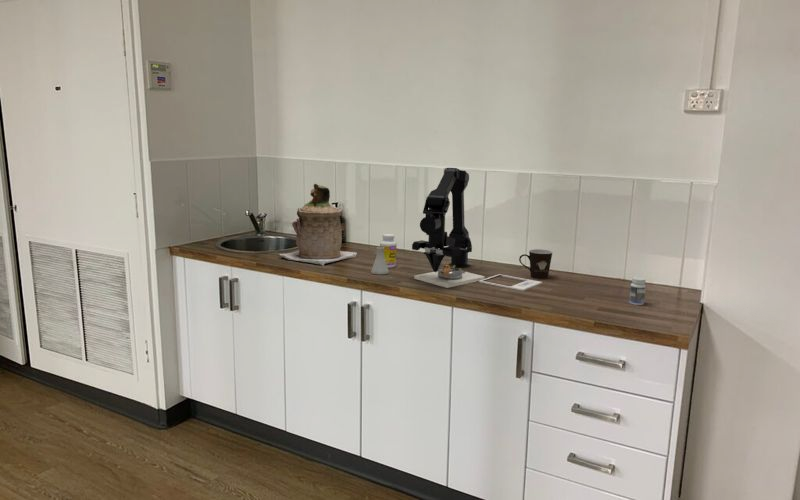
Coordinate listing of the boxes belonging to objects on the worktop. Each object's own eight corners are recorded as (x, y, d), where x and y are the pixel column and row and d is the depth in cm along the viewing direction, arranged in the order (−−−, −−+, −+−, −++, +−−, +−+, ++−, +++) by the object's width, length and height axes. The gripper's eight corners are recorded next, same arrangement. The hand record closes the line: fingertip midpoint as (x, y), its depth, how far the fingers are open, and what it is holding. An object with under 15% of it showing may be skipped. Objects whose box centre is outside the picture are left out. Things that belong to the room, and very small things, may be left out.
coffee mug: (552, 276, 237) (554, 250, 235) (548, 280, 230) (550, 254, 228) (522, 272, 242) (524, 247, 240) (517, 277, 234) (518, 251, 232)
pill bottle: (626, 301, 204) (628, 276, 202) (640, 301, 204) (642, 276, 203) (632, 305, 199) (635, 280, 198) (646, 305, 200) (649, 280, 198)
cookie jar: (359, 256, 267) (359, 182, 261) (323, 266, 246) (322, 186, 240) (315, 250, 280) (314, 179, 274) (277, 259, 259) (275, 182, 253)
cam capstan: (442, 270, 236) (442, 256, 235) (465, 272, 234) (466, 258, 233) (433, 280, 221) (433, 265, 220) (458, 282, 219) (458, 267, 218)
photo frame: (523, 288, 215) (479, 280, 226) (522, 292, 215) (478, 283, 226) (542, 281, 226) (499, 273, 237) (542, 284, 226) (499, 276, 237)
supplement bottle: (389, 268, 245) (389, 236, 242) (376, 266, 249) (376, 234, 246) (399, 266, 250) (400, 234, 247) (386, 263, 254) (387, 232, 251)
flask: (387, 275, 233) (387, 249, 231) (368, 274, 235) (368, 248, 233) (391, 271, 240) (391, 246, 238) (373, 270, 242) (373, 245, 240)
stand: (451, 271, 242) (451, 265, 242) (484, 279, 230) (484, 273, 229) (414, 278, 229) (414, 272, 229) (447, 287, 217) (447, 281, 216)
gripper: (471, 229, 219) (469, 272, 223) (431, 223, 232) (430, 264, 235) (452, 233, 211) (450, 277, 214) (411, 226, 224) (410, 268, 227)
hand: (435, 271), depth 223 cm, fingers closed
